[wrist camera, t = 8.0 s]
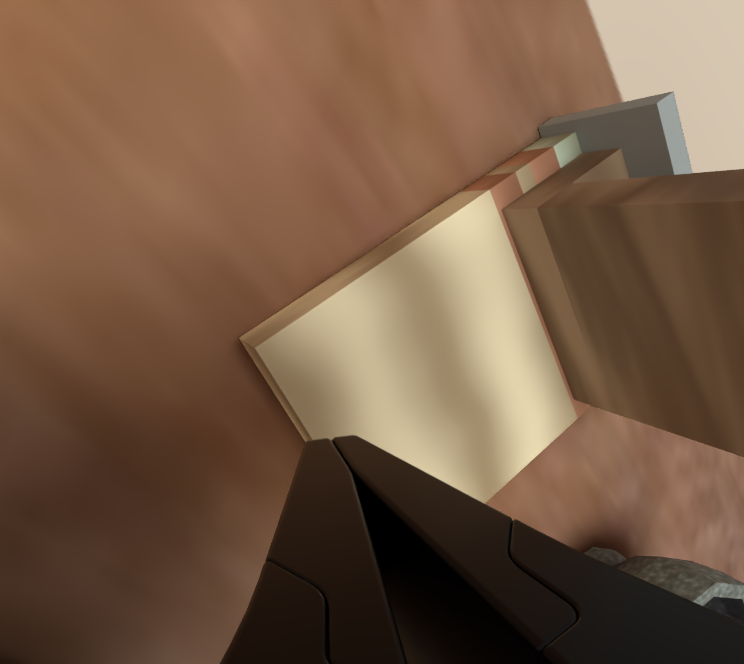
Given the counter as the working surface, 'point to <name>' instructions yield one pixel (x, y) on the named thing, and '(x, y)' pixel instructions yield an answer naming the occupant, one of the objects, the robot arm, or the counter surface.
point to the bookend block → (642, 291)
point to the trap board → (432, 341)
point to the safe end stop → (631, 134)
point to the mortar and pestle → (682, 580)
